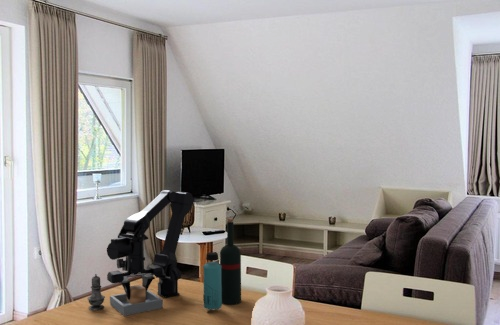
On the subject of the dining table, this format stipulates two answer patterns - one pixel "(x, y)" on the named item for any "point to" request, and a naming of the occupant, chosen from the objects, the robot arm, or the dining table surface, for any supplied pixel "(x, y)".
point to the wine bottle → (230, 269)
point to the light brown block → (137, 294)
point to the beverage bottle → (212, 282)
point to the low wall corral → (127, 309)
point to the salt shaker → (96, 295)
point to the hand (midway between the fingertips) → (136, 297)
